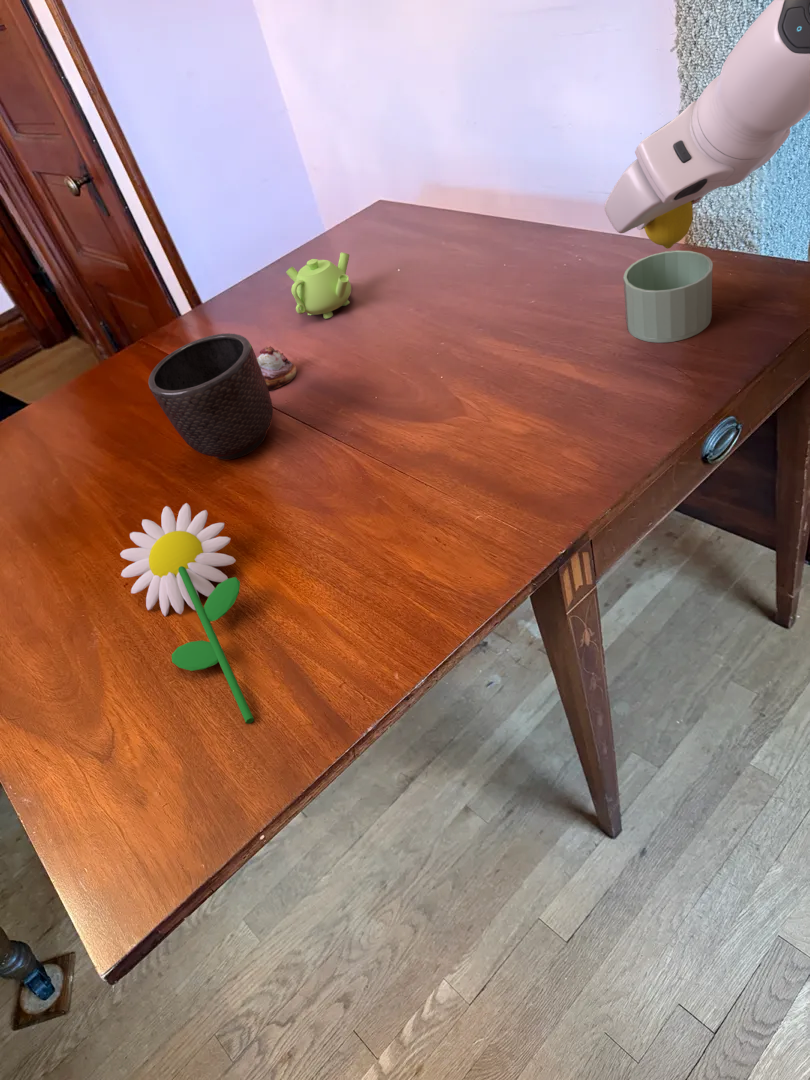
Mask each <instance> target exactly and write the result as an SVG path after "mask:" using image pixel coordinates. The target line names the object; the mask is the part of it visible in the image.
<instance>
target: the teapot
mask: <svg viewBox="0 0 810 1080" xmlns="http://www.w3.org/2000/svg"><path fill="white" fill-rule="evenodd" d="M349 260H350V254H349V253H346V252H340V253H339V257H338V263H337V265H336V264H334V263H333V262H332V261H330V260H327V259H317V258H311V259H309V260H307V262H306V264H305V265H303V266H302V267H301V268H300V269H299V270H298V271H297V270H296V268H295V267H294V266H290V267H289V268H288V269H287V270H286V271H285V274H286V275H287V276H288V277H289V278H290V280H292V281H293V284H292V285H291V288H290V291H291V294H292V297H293V298H294V300H295V303H296V305H295V311H296V313H297V314H299V315H301V314H305V313H307V316H314V315H322V317H323V319H327V320H328V319H330V318H332V317H333V316H334V313H333V311H335V310H337V309H339V308H341V307H345V306H348V305H349V304H350V301H349V298H350V295H351V293H352V285H351V282H350V279H349V275H348V274H346V273H347V271H348V270H347V269H348V264H349Z"/></svg>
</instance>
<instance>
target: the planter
mask: <svg viewBox="0 0 810 1080" xmlns="http://www.w3.org/2000/svg"><path fill="white" fill-rule="evenodd" d="M257 358H258V357H257V356H256V353H255V351H254V347H253V346H252V344H251V343H250V341H249V339H248V338H246V337H245V336H243V335H241V334H236V333H230V332H228V333H218V334H213V335H212V334H211V335H208V336H205V337H201V338H198V339H195V340H193V341H191V342H189V343H186V344H184V345H182V346H181V347H179V348H177V349H175V350H173V351H172V352H171V353H169V354H168V355H166V356H165V357H163V358H162V359H161V360H160V361H159V362H158V363H157V364H156V365H155V367H154V368H153V369H152V371H151V372H150V374H149V376H148V382H147V383H148V384H147V385H148V388H149V390H150V392H151V394H152V396H153V397H154V399H155V400H156V402H157V404H158V406H159V407H160V408H161V410H162V411H163V413H164V414H165V416H166V417H167V419H168V421H169V422H170V423H171V425H172V426H173V428H174V429H175V431H176V432H177V433H178V435H179V436H180V437H181V438H182V440H183V441H184V442H185V443H186V444H187V445H188V446H189V447H190V448H191V449H193V450H194V451H196V452H197V453H199V454H201V455H204V456H208V457H214V458H217V459H220V460H226V461H227V460H235V459H238V458H242V457H244V456H246V455H248V454H250V453H252V452H254V451H255V450H256V449H257V448H259V447H260V446H261V444H263V442H264V440H265V439H266V437H267V432H268V431H269V428H270V426H271V424H272V421H273V417H274V415H273V414H274V407H273V401H272V398H271V397H272V396H271V393H270V390H268V387H267V384H266V381H265V378H264V376H263V373H262V370H261V368H260V365H259V363H258V360H257Z"/></svg>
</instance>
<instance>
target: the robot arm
mask: <svg viewBox="0 0 810 1080" xmlns="http://www.w3.org/2000/svg"><path fill="white" fill-rule="evenodd" d="M809 112H810V0H772V1H771V2H770V3H769V4H768V5H767V6H766V8H765V9H764V10H763V11H762V12H761V13H760V14H759V15H758V16H757V18H756V19H755V20H754V21H753V22H752V24H751V25H750V26H749V27H748V28H747V30H745V32H744V34H743V35H742V36H741V38H740V39H739V40H738V41H737V43H736V44H735V46H734V47H733V49H732V50H731V51H730V52H729V54H728V55H727V57H726V58H725V61H724V63H723V65H722V68H721V71H720V74H719V75H718V76H716V77H715V78H714V79H712V80H711V81H710V82H709V83H708V84H707V85H706V87H705V88H704V89H703V91H702V92H701V94H700V95H699V97H698V98H697V99H696V100H693V101H692V102H691V103H690V104H689V105H687V106H686V108H684V109H683V111H682V112H681V111H680V113H679V114H678V115H677V116H676V117H675V118H673V119H672V120H670V121H669V122H666V124H664V125H662V126H661V127H659V128H658V129H656V130H655V131H653V132H652V133H651V134H650V135H648V136H647V137H645V138H644V139H642V140H641V141H640V142H639V144H638V145H637V147H636V148H635V151H634V153H635V154H634V155H635V156H636V159H635V160H634V161H632V163H631V164H630V165H629V166H627V168H626V169H625V170H624V171H623V173H622V174H621V175H620V177H619V178H618V180H617V182H616V183H615V185H614V186H613V188H612V189H611V191H610V192H609V195H608V196H607V198H606V200H605V201H604V202H605V203H604V206H603V207H604V212H605V214H606V217H607V219H608V221H609V223H610V225H611V226H612V227H613V229H614V230H615V232H617V233H619V234H625V233H627V232H630V231H631V230H633V229H635V228H636V229H637V230H638V231H641V230H643V229H644V228H645V227H647V226H649V225H651V223H652V222H653V221H654V220H655V218H656V217H658V216H660V215H662V214H665V213H667V212H669V211H671V210H673V209H675V208H677V207H679V206H681V205H683V204H685V203H688V202H690V201H691V202H692V206H694V205H696V204H698V203H700V202H701V200H702V199H703V198H704V197H705V196H706V195H708V194H709V193H711V192H713V191H715V190H717V189H719V188H725V187H733V186H735V185H737V184H739V183H742V182H743V181H744V180H746V179H747V178H748V177H749V176H750V175H751V174H752V173H753V172H755V171H757V170H758V169H760V168H761V167H763V166H764V165H765V164H767V163H769V161H770V160H771V159H772V158H773V156H774V155H775V154H776V153H777V152H778V151H779V150H780V148H781V147H783V144H784V143H785V142H786V140H787V139H788V138H789V136H790V134H791V128H792V127H794V126H795V125H796V124H798V123H799V122H800V121H801V120H803V119H804V118H805V117H806V115H807V114H808V113H809Z"/></svg>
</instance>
